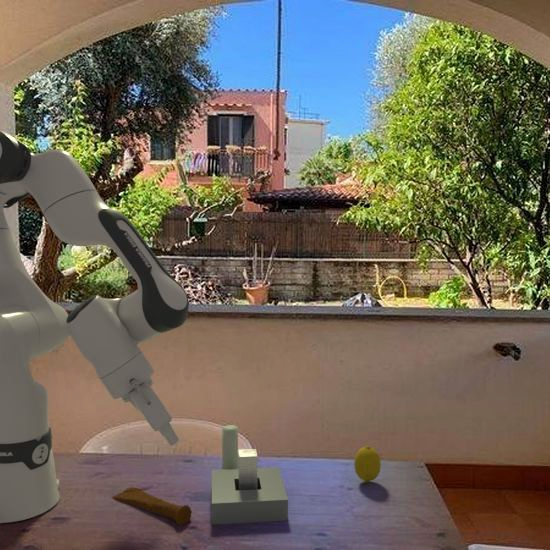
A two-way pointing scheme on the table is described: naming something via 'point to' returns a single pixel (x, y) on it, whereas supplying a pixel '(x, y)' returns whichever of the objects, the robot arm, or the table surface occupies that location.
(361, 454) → the lemon
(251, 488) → the square bit
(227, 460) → the round bit
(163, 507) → the primitive tool
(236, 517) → the socket block
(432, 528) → the table surface
